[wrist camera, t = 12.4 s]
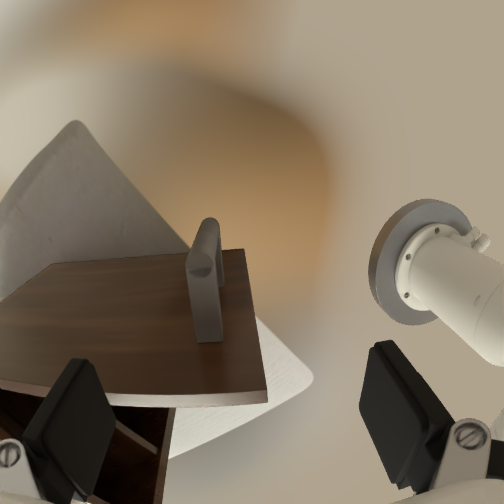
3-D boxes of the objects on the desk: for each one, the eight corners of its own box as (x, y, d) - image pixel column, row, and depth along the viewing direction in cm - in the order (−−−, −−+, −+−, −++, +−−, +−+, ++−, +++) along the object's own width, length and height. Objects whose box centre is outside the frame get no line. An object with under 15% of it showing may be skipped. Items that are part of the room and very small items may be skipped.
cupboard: (50, 270, 36) (-65, 370, 13) (178, 394, 44) (158, 535, 20) (5, 332, 39) (-74, 420, 15) (114, 431, 46) (82, 540, 23)
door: (42, 222, 34) (-92, 295, 11) (240, 199, 35) (261, 281, 12) (53, 270, 36) (-61, 371, 13) (244, 256, 38) (267, 403, 15)
